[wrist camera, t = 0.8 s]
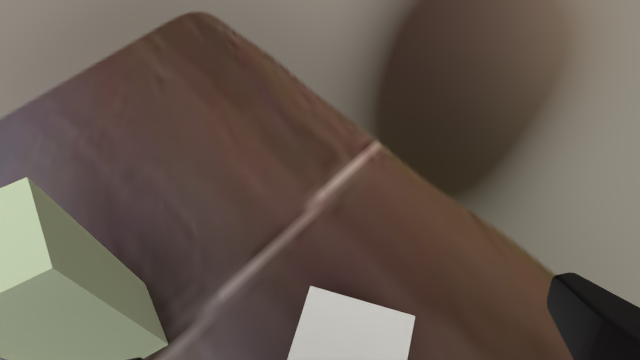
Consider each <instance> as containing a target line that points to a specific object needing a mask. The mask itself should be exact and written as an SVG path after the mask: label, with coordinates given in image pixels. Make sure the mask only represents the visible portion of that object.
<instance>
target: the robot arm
mask: <svg viewBox="0 0 640 360" xmlns="http://www.w3.org/2000/svg"><path fill="white" fill-rule="evenodd" d="M547 308H548V311H549V313H550V315H551V317H552V319H553V320H554V322H555V324H556V326H557V328H558V330H559V332H560V334H561V336H562V338H563V340H564V342H565V344H566V346H567V348H568V350H569V351H570V353H571V355H572V357H573V359H574V360H640V308H639V307H637V306H635V305H633V304H632V303H630V302H628V301H626V300H624V299H622V298H620V297H618V296H616V295H615V294H613V293H611V292H609V291H607V290H605V289H604V288H602V287H600V286H598V285H596V284H594V283H592V282H590V281H589V280H587V279H585V278H583V277H581V276H579V275H577V274H575V273H564V274H559V275H556V276H554V277H553V278H552V281H551V285H550V289H549V293H548V296H547ZM127 360H144V359H143V358H141V357H137V358H132V359H127Z"/></svg>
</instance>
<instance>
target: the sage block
mask: <svg viewBox="0 0 640 360" xmlns="http://www.w3.org/2000/svg"><path fill="white" fill-rule="evenodd" d="M167 345H169V344H168V342H167V339H166V337H165V334H164V332H163V329H162V326H161V324H160V321H159V319H158V316H157V313H156V311H155V308H154V306H153V303H152V300H151V298H150V295H149V293H148V290H147V288H146V285H145V283H144V282H143V281H141V280H140V279H139V278H138V277H137V276H136V275H135V274H134V273H133V272H132V271H130V270H129V269H128V268H127V267H126V266H125V265H124V264H123V263H122V262H120V261H119V260H118V259H117V258H116V257H115V256H114V255H113V254H112V253H111V252H109V251H108V250H107V249H106V248H105V247H104V246H103V245H102V244H101V243H100V242H98V241H97V240H96V239H95V238H94V237H93V236H92V235H91V234H90V233H89V232H87V231H86V230H85V229H84V228H83V227H82V226H81V225H80V224H79V223H77V222H76V221H75V220H74V219H73V218H72V217H71V216H70V215H69V214H68V213H66V212H65V211H64V210H63V209H62V208H61V207H60V206H59V205H58V204H57V203H55V202H54V201H53V200H52V199H51V198H50V197H49V196H48V195H47V194H46V193H44V192H43V191H42V190H41V189H40V188H39V187H38V186H37V185H36V184H34V183H33V182H32V181H31V180H30V179H29V178H28V177H26V178H24V179H21V180H19V181H17V182H14V183H12V184H10V185H7V186H5V187H2V188H0V358H4V359H7V360H127V359H132V358H137V357H141V358H143V359H144V358H146V357H147V356H149V355H151V354H153V353H155V352H156V351H158V350H160V349H162V348H163V347H165V346H167Z"/></svg>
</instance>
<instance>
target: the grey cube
mask: <svg viewBox="0 0 640 360" xmlns="http://www.w3.org/2000/svg"><path fill="white" fill-rule="evenodd" d="M414 321H415V316H413V315H410V314H406V313H403V312H399V311H396V310H392V309H389V308H386V307H382V306H379V305H375V304H372V303H368V302H365V301H361V300H358V299H354V298H351V297H347V296H344V295H341V294H337V293H334V292H330V291H327V290H323V289H320V288H316V287H313V286H310V289H309V292H308V295H307V299H306V302H305V305H304V308H303V311H302V314H301V317H300V321H299V324H298V327H297V330H296V333H295V336H294V340H293V343H292V346H291V349H290V352H289V355H288V358H287V360H407V358H408V353H409V347H410V342H411V337H412V331H413V326H414Z"/></svg>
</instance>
